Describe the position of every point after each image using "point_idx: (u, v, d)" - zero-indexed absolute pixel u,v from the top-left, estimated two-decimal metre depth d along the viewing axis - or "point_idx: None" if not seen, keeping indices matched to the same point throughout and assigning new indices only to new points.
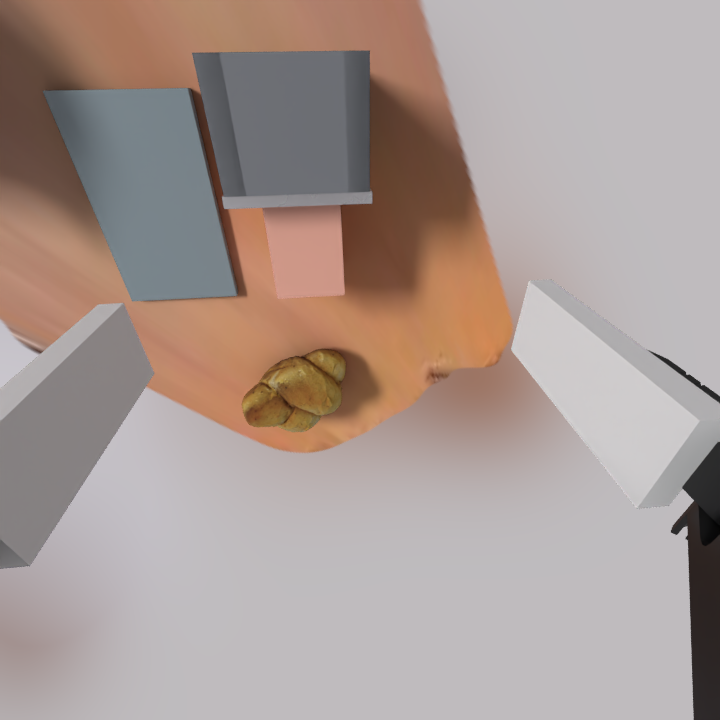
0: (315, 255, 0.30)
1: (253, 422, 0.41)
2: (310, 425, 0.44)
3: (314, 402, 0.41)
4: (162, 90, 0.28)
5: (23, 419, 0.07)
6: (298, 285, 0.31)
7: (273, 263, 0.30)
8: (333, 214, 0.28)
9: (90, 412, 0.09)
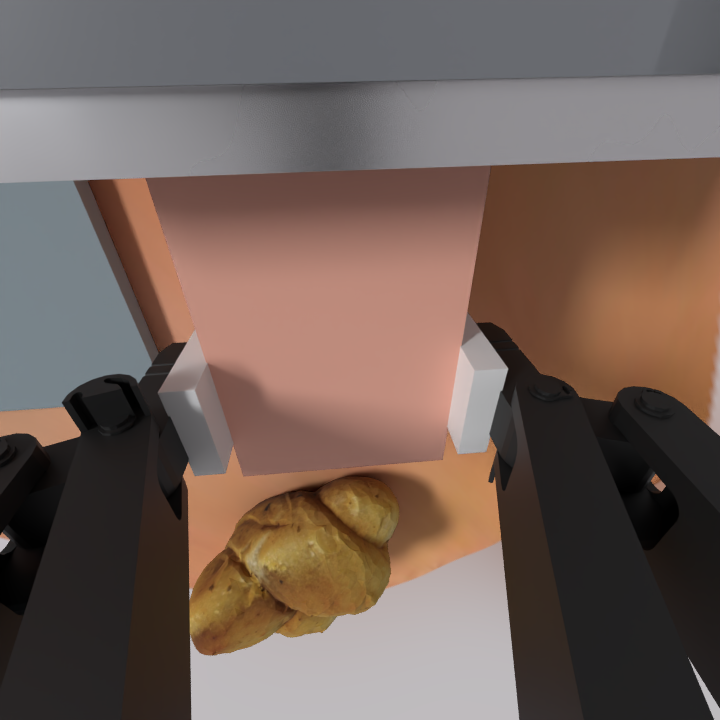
0: (365, 364, 0.09)
1: (210, 654, 0.19)
2: (328, 626, 0.23)
3: (340, 610, 0.19)
4: None
5: None
6: (305, 443, 0.10)
7: (222, 391, 0.09)
8: (454, 225, 0.07)
9: None
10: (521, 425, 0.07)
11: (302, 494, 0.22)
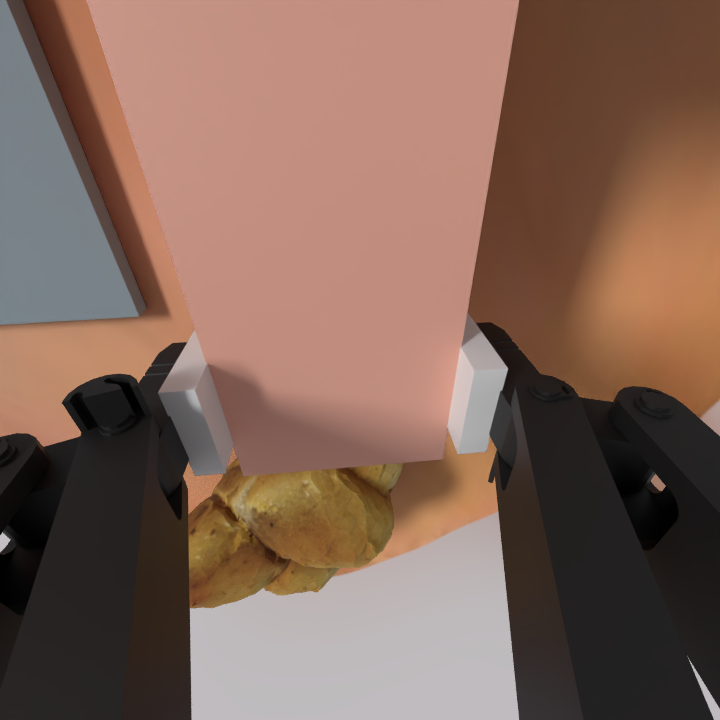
0: (365, 364, 0.09)
1: (190, 607, 0.17)
2: (323, 584, 0.20)
3: (338, 558, 0.17)
4: None
5: None
6: (305, 443, 0.10)
7: (222, 391, 0.09)
8: (454, 225, 0.07)
9: None
10: (521, 425, 0.07)
11: None
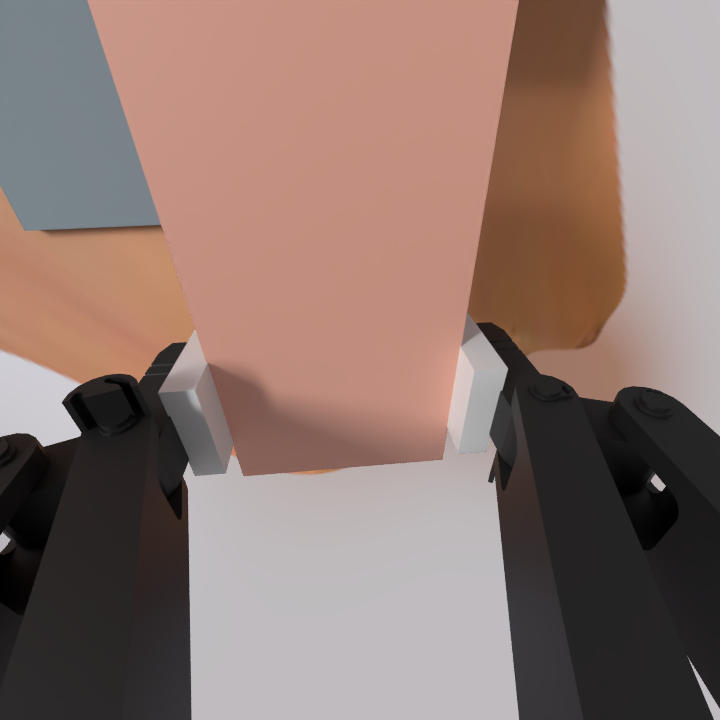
0: (366, 364, 0.09)
1: None
2: None
3: None
4: None
5: None
6: (305, 444, 0.10)
7: (222, 391, 0.09)
8: (453, 225, 0.07)
9: None
10: (521, 425, 0.07)
11: None
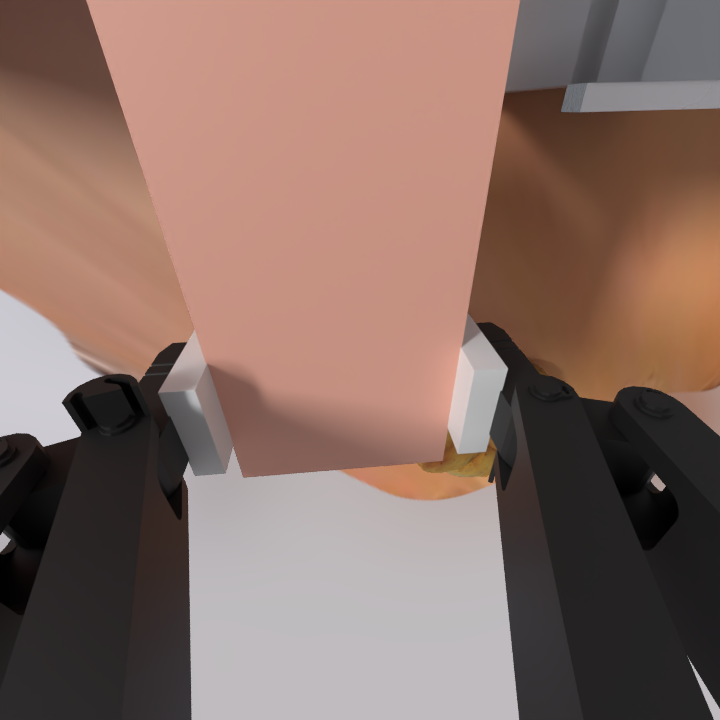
0: (366, 365, 0.09)
1: (434, 467, 0.27)
2: None
3: None
4: None
5: None
6: (305, 445, 0.10)
7: (222, 393, 0.09)
8: (454, 226, 0.07)
9: None
10: (521, 425, 0.07)
11: None
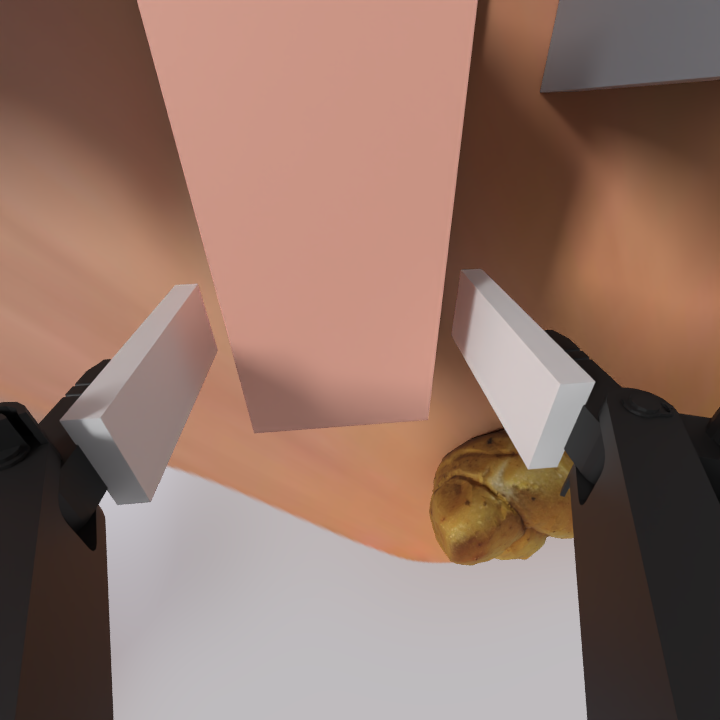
0: (360, 330, 0.10)
1: (467, 562, 0.21)
2: None
3: None
4: None
5: (143, 375, 0.08)
6: (308, 402, 0.12)
7: (238, 353, 0.10)
8: (430, 210, 0.09)
9: (180, 377, 0.10)
10: (612, 438, 0.06)
11: None
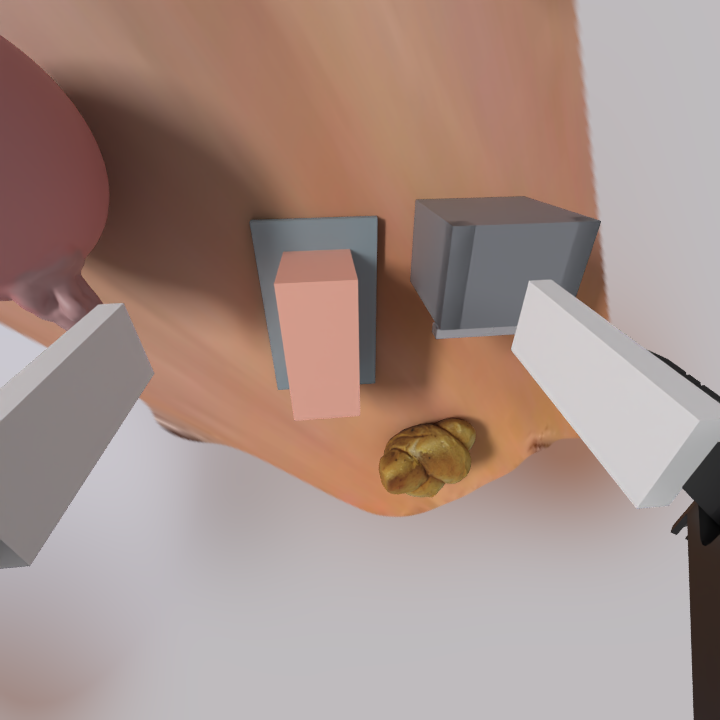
0: (332, 384, 0.31)
1: (394, 490, 0.41)
2: (436, 492, 0.45)
3: (453, 474, 0.42)
4: (354, 219, 0.31)
5: (23, 419, 0.07)
6: (315, 409, 0.32)
7: (291, 392, 0.31)
8: (352, 351, 0.29)
9: (90, 412, 0.09)
10: None
11: (430, 424, 0.45)
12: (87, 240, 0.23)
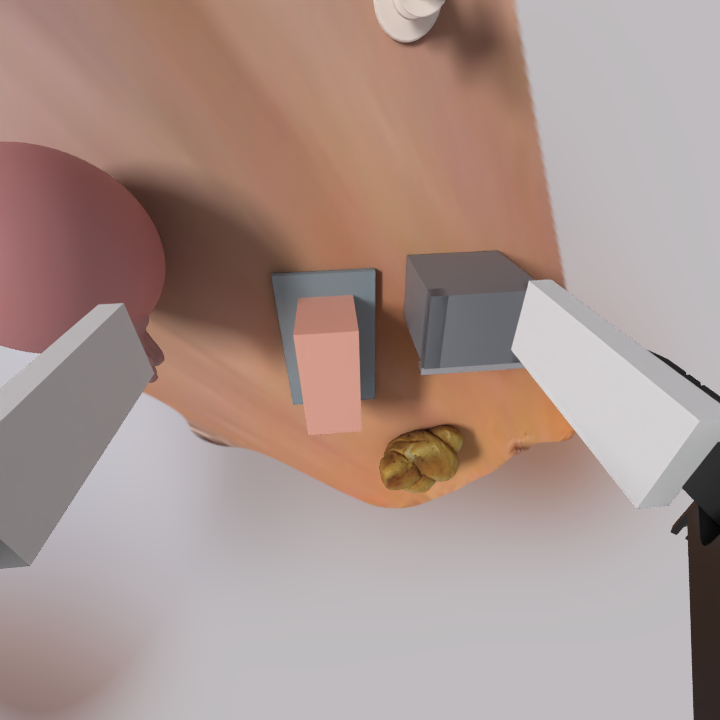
0: (339, 407, 0.38)
1: (392, 487, 0.49)
2: (428, 488, 0.53)
3: (443, 474, 0.50)
4: (356, 272, 0.38)
5: (23, 419, 0.07)
6: (324, 426, 0.40)
7: (306, 413, 0.38)
8: (354, 383, 0.36)
9: (90, 412, 0.09)
10: None
11: None
12: (152, 307, 0.31)
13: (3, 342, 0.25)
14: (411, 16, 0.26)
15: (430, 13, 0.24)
